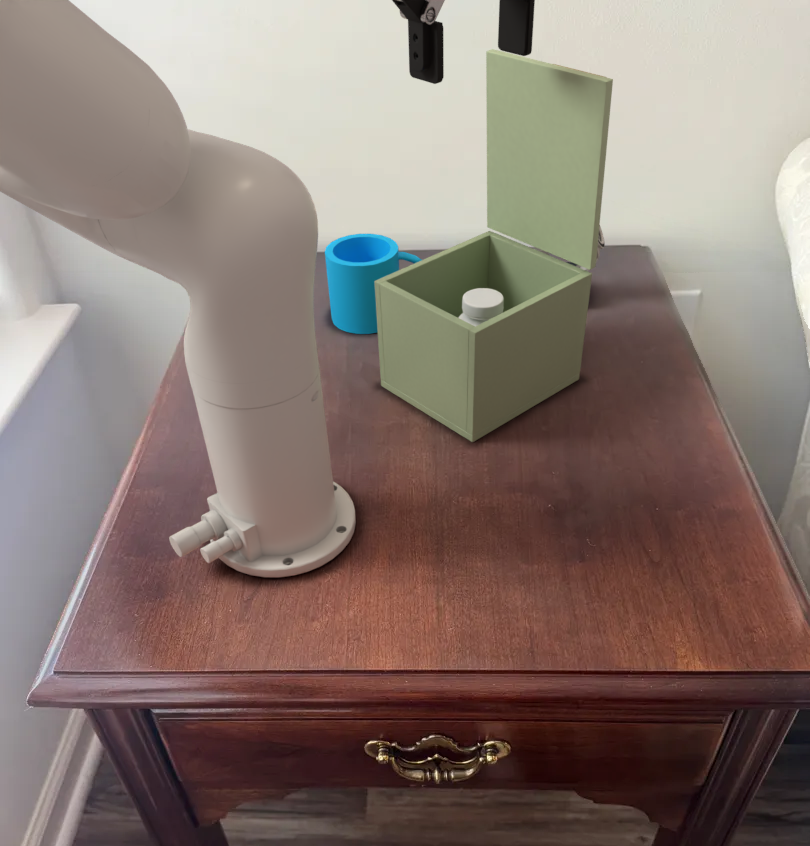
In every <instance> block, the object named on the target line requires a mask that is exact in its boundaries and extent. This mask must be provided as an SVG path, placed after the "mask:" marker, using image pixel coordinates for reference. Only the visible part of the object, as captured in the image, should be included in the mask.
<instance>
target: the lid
mask: <svg viewBox="0 0 810 846" xmlns="http://www.w3.org/2000/svg"><path fill="white" fill-rule="evenodd" d="M485 54H486V55H485V56H486V57H485V61H486V62H485V63H486V64H485V65H486V67H485V68H486V72H485V73H486V75H485V76H486V78H485V79H486V87H485V88H486V89H485V90H486V227H487V228H488V229H489V230H492V231H495V232H498V233H499V234H503V235H505V236H507V237H510V238H512V239H514V240H516V241H519V242H522V243H523V244H525V245H526V244H527V245H529V246H532V247H533V248H534V247H536V248H539V249H541V250H543V251H546V252H548V253H549V254H550V255H553V256H554V257H558V258H559V259H563V260H566V261H567V262H572V263H575V264H577V265H580V266H582V267H585V268H587V269H589V271H591V270H593V269H594V268H596V267H597V262H596V257H597V247H598V236H599V225H600V226H601V213H602V203H603V192H604V183H605V182H604V181H605V171H606V170H605V168H606V160H607V159H606V158H607V150H608V149H607V148H608V137H609V127H610V117H611V106H612V94H613V85H614V78H610V77H607V76H605V75H600V74H596V73H592V72H589V71H584V70H580V69H576V68H572V67H567V66H564V65H561V64H560V65H559V64H555V63H550V62H545V61H543V60H537V59H534V58H530V57H526V56H521V55H517V54H513V53H509V52H505V51H501V50H498V49H494V48H491V49H489V50H486V53H485Z"/></svg>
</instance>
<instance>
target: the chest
mask: <svg viewBox="0 0 810 846" xmlns="http://www.w3.org/2000/svg"><path fill="white" fill-rule="evenodd" d="M549 255H550V254H549ZM549 255H547V254H545V253H542V252H540V251H537V250H535V249H534V247H533V248H532V247H530V246H528V245H526V244H524V243H521V242H518V241H517V240H513V239H511V238H509V237H506V236H504V235H501V234H500V233H496V232H494V231H491V230H487V231H485V232H484V233H481V234H479V235H476V236H474V237H472V238H469V239H467V240H464V241H463V242H461V243H458V244H456V245H453V246H451V247H449V248H446V249H444V250H442V251H439V252H437V253H435V254H433V255H431V256H428V257H426V258H424V259H422V260H421V261H419V262H417V263H415V264H414V263H411V264H410V265H408V266H406V267H403V268H401V269H399V271H396V272H394V273H392V274H389V275H387V276H385V277H383V278H380V279H378V280H376V281H375V297H376V313H377V329H378V333H377V342H378V357H379V359H378V360H379V374H380V386H381V387H382V388H384V389H386V390H387V391H389V392H390V393H392V394H394V395H395V396H397V397H399V398H400V399H401V400H403V401H405V402H407V403H408V404H410V405H411V406H413V407H415V408H416V409H418V410H419V411H421V412H422V413H424V414H426V415H427V416H429V417H431V418H432V419H434V420H436V421H437V422H439V423H440V424H442V425H444V426H445V427H447V428H449V430H452V431H453V432H455V433H457V434H458V435H459V436H461V437H463V438H464V439H466V440H467V441H469V442H471V443H474V442H476V441H477V440H479V439H481V438H483V437H484V436H486V435H488V434H489V433H491V432H493V431H495V430H496V429H498V428H499V427H501V426H503V425H505V424H507V423H508V422H510V421H511V420H513V419H515V418H516V417H518V416H520V415H521V414H523V413H525V412H526V411H529V410H530V409H531V408H534V406H537V405H538V404H540V403H541V402H543V401H545V400H547V399H548V398H550V397H552V396H554V395H555V394H556V393H558V392H560V391H562V390H563V389H565V388H567V387H569V386H571V385H572V384H573V383H576V382H577V381H579V379H580V375H581V374H580V373H581V367H582V360H583V359H582V358H583V350H584V343H585V336H586V335H585V334H586V327H587V319H588V311H589V302H590V295H591V285H592V280H593V279H592V278H593V273H592V272H590V271H585V270H583V269H581V268H578V267H576V266H574V265H571V264H569V263H566V262H567V261H563V260H562V259H560V258H556V257H555V256H552V255H550V256H549ZM477 288H488V289H493V290H496V291H498V292H500V293H501V294H502V295H503V298H504V305H503V306H504V309H503V313H501V314H499V315H497V316H495V317H493V318H491V319H490V320H488V321H486V322H484V323H482V324H480V325H478V326H476V327H475V326H473V325H471V324H469V323H467V322H465V321H463V320H461V319H459V318H458V317H459V316H460V315H461V314H462V313H463V310H462V299H463V295H464V294H465V293H466V292H468V291H470V290H473V289H477Z"/></svg>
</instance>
